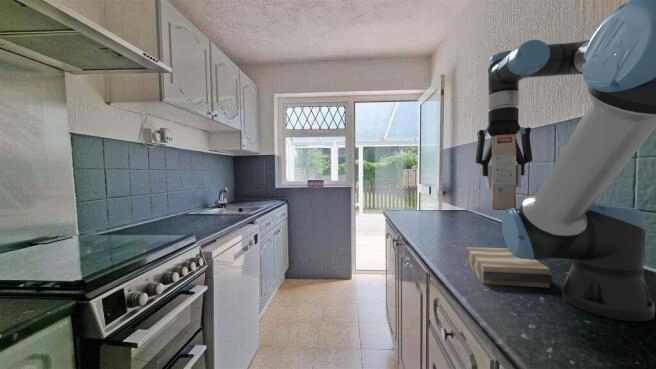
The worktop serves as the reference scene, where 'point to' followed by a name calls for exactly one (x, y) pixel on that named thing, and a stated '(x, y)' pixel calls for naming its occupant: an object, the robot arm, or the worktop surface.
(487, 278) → the dock
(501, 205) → the cracker box
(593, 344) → the worktop surface
